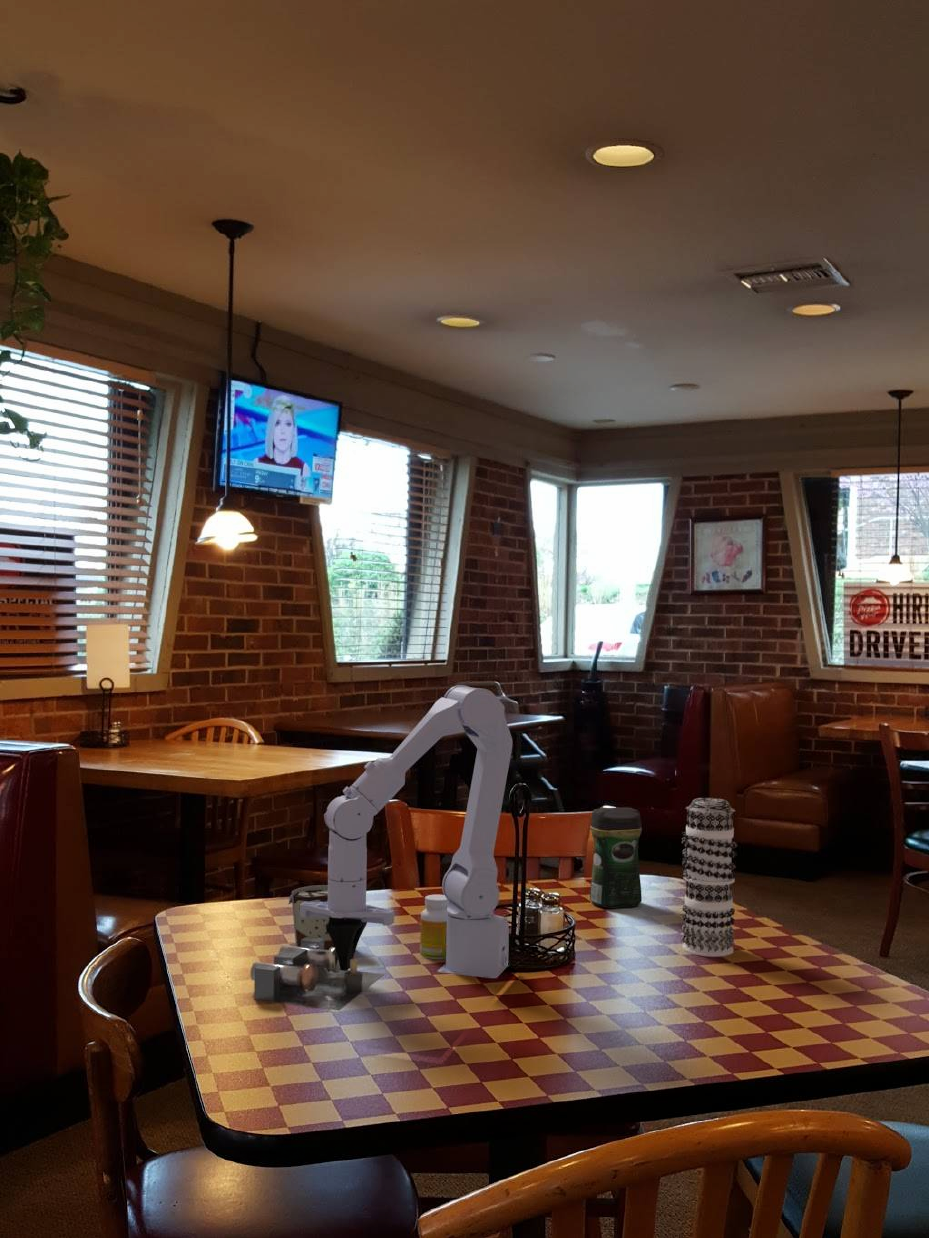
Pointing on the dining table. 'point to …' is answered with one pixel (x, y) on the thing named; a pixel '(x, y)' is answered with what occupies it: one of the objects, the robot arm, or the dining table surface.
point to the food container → (310, 924)
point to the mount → (323, 996)
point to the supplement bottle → (434, 927)
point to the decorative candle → (708, 878)
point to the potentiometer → (353, 978)
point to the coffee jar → (615, 858)
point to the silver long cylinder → (320, 958)
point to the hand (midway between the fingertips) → (345, 968)
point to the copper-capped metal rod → (294, 975)
